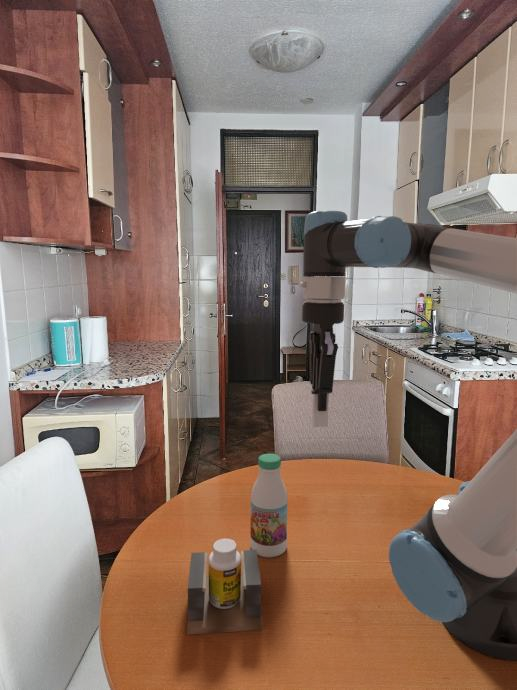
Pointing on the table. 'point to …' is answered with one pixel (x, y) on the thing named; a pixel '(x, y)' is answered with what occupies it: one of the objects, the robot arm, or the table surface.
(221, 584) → the supplement bottle
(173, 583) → the table surface
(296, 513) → the table surface
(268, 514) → the milk bottle
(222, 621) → the clamp block
